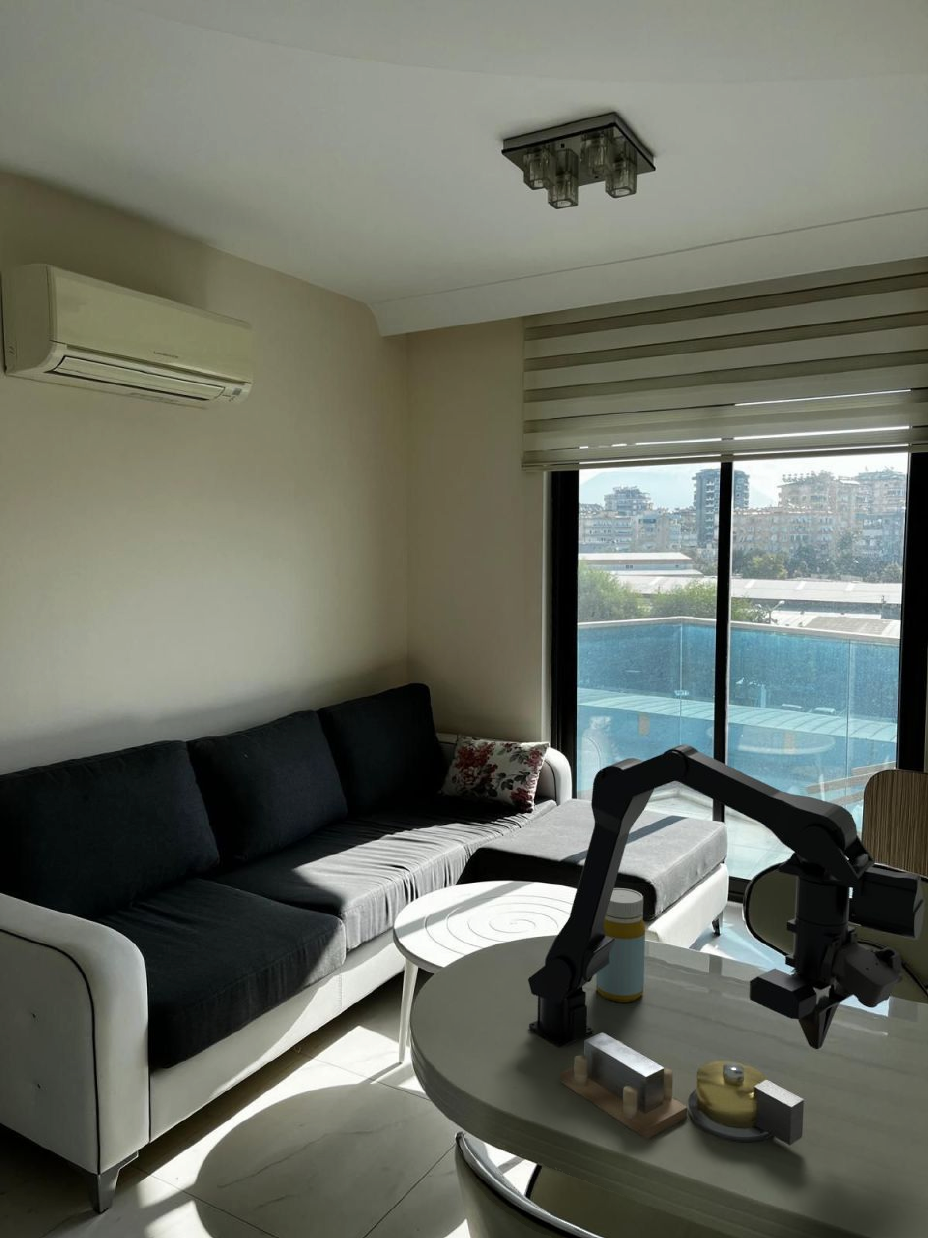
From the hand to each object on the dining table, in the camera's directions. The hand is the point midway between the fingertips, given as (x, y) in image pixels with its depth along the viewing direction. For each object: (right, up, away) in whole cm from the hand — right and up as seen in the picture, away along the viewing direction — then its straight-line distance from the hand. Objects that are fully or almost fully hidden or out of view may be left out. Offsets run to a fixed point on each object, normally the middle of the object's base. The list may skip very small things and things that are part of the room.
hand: (815, 1047), depth 108 cm
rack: (-22, -9, +5) cm, 24 cm away
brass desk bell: (-9, -9, +2) cm, 13 cm away
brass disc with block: (-8, -8, 0) cm, 11 cm away
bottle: (-17, -7, +32) cm, 37 cm away
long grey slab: (-22, -7, +5) cm, 23 cm away
